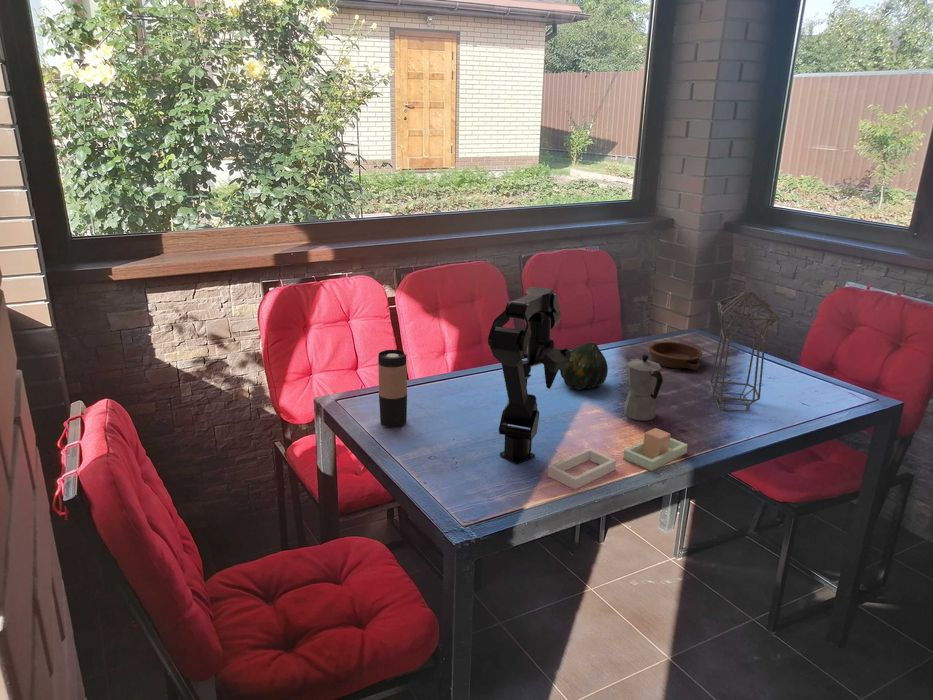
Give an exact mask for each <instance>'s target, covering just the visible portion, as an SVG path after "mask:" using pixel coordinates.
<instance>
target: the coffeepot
mask: <svg viewBox="0 0 933 700" xmlns="http://www.w3.org/2000/svg"><path fill="white" fill-rule="evenodd" d="M641 357H642V359H640V358H639V359H638V358H633V359H632V358H630V361H628V362H627V376H628V386H629V391H628V393H627V396H626V399H625V403H624V406H623V413H624V416H625V417H626V418H629V419H631V420H634V421H640V422H641V421H652V420H654V418H656V416H657V415H656V403H655V402H656V401H655V400H656V399H658V398H657V397H658V395H659V392H660V389H661V388H662V384H663V380H664V378H663V375H662V373H661V371H662V366H661V365H659V364H658V363H655V362H654V361H653V360H648V358H649V356H648V354H643V355H642V356H641Z"/></svg>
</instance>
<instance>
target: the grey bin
mask: <svg viewBox="0 0 933 700" xmlns="http://www.w3.org/2000/svg"><path fill="white" fill-rule="evenodd" d="M587 461H591V462H593V463H595V464H597V466H595V467H593V468H590V469H589V470H587V471H585V472H582V473H580V474H578V475H577V476H574V475H572V474H571V473H569V472H566V471H568V470H569V469H572V468H574V467H576V466H579V465H581V464H582V463H585V462H587ZM616 468H617V459H614V458H612V457H610V456H608V455H605V454H603V453H601V452H598V451H597V450H594V449H592V448H590V447H588V448H586V449H584V450H581V451H579V452H577V453H575V454H573V455H571V456H568V457H565V458H564V459H561V460H559V461H557V462H555V463H552V464H551V465H549V466H548V467H547V477H549V478H551V479H553V480H556V481H557V482H559V483H561V484H563V485H565V486H567V487H570V488H571V489H573V490H577V489H579V488H581V487H583V486H585V485H587V484H589V483H592V482H593V481H595V480H598V479H599V478H601V477H603V476H605V475H608V474H609V473H611V472H613V471H615V470H616Z"/></svg>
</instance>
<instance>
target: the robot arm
mask: <svg viewBox="0 0 933 700" xmlns="http://www.w3.org/2000/svg"><path fill="white" fill-rule="evenodd" d="M561 317H562V313H561V311H560V303H559V298H558V294H556V290H555V289H553V288H546V287H545V288H544V287H536V286H530V287H529V288H527V290H525V294H524V295H523V296H522V297H519V298H518V299H514V300H510V301H508V302H507V303H506V305H505V308H504V310H503V312H501V313H500V314H499V315H498V316H497V317H496V318H495V319H494V320H493V322H492V324H491V327H490V331H489V333H488V335H487V336H488V337H487V345H488V346H489V348H490V351H491V354H492V355H491V356H492V357H494V358H495V359H496V360H497V361H498V362H499V363H500V364H501V368H502V374H503V379H504V383H505V388H506V395H507V397H508V398H507V399H508V401H507V403H506V405H505V406H504V409H503V410H502V413H501V418H500V422H499V426H498V433H499V434H498V435H501V436H502V435H504V448H503V449H504V451H501V452H499V456H500V457H503V458H505V459H506V460H508V461H510V462H512V463H514V464H516V465H519V464H521V463H523V462H525V461H528V460H530V459H533V458H535V457H536V454H534V453H533V452H532V442H533V441H532V440H533V439H534V438H535V436H536V435H537V434H538V428H539V421H540V411H539V409H538V402H537V397H536V396H535V395H534V394H529V393H528V387H527V386H528V379H530V377H531V376H532V374H530V373H531V371H532V368H533V367H537V366H539V365H543V369H544V379H545V380H544V381H545V384H546V385H545V386H546V389H548V390H550V389H551V388H552V386H553V383H554V382H555V379H556V376H557V375H558V372H559V371H560V370H563V369H564V366H566V363H569V362H570V357H571V355H570V351H571V350H570V349H569V348H567V347H566V348H559V347H555V342H554V340H553V339H551V331H552V329H553V328H554V327H555V326H556V325H557V324H558V323H559V322H560V321H561V319H562V318H561ZM510 319H514V320H515V319H516V320H520V321H521V320H522V321H524V322H525V328H524V330H523V329H520V328H519V329H518V328H511V327H504V326H505V325H506V324H507V323H508V322H509V321H510ZM523 358H525V359H526V360H523Z"/></svg>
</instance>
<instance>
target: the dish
mask: <svg viewBox="0 0 933 700" xmlns="http://www.w3.org/2000/svg"><path fill="white" fill-rule="evenodd" d="M648 350H649V353H650V356H651V359H652V362H655V363H658V364H659V365H660V367H665V368H669V369H670V368H671V369H689V370H692V371H694V370H695V371H696V370H698V369H699V368H700V363H699V360H700V358H702V356H703V352H702V350H701V349H700V348H699V347H696V346H693V345H690V344H687V343H682V342H677V341H659V342H655V343H654V342H653V343H652V344H650V345H649V346H648Z"/></svg>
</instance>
